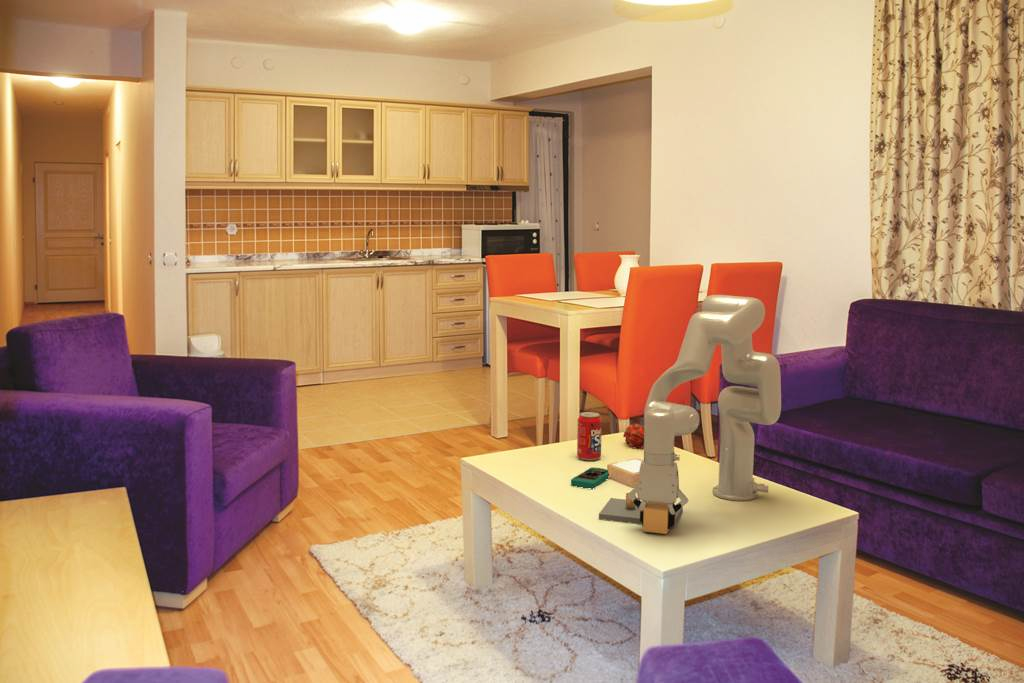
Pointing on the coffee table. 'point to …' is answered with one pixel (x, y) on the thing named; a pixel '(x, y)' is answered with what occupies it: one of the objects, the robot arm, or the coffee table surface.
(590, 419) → the soda can
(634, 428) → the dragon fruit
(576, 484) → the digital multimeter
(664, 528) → the orange cube
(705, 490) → the coffee table surface
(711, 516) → the coffee table surface
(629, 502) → the pin
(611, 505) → the grey oblong slab
